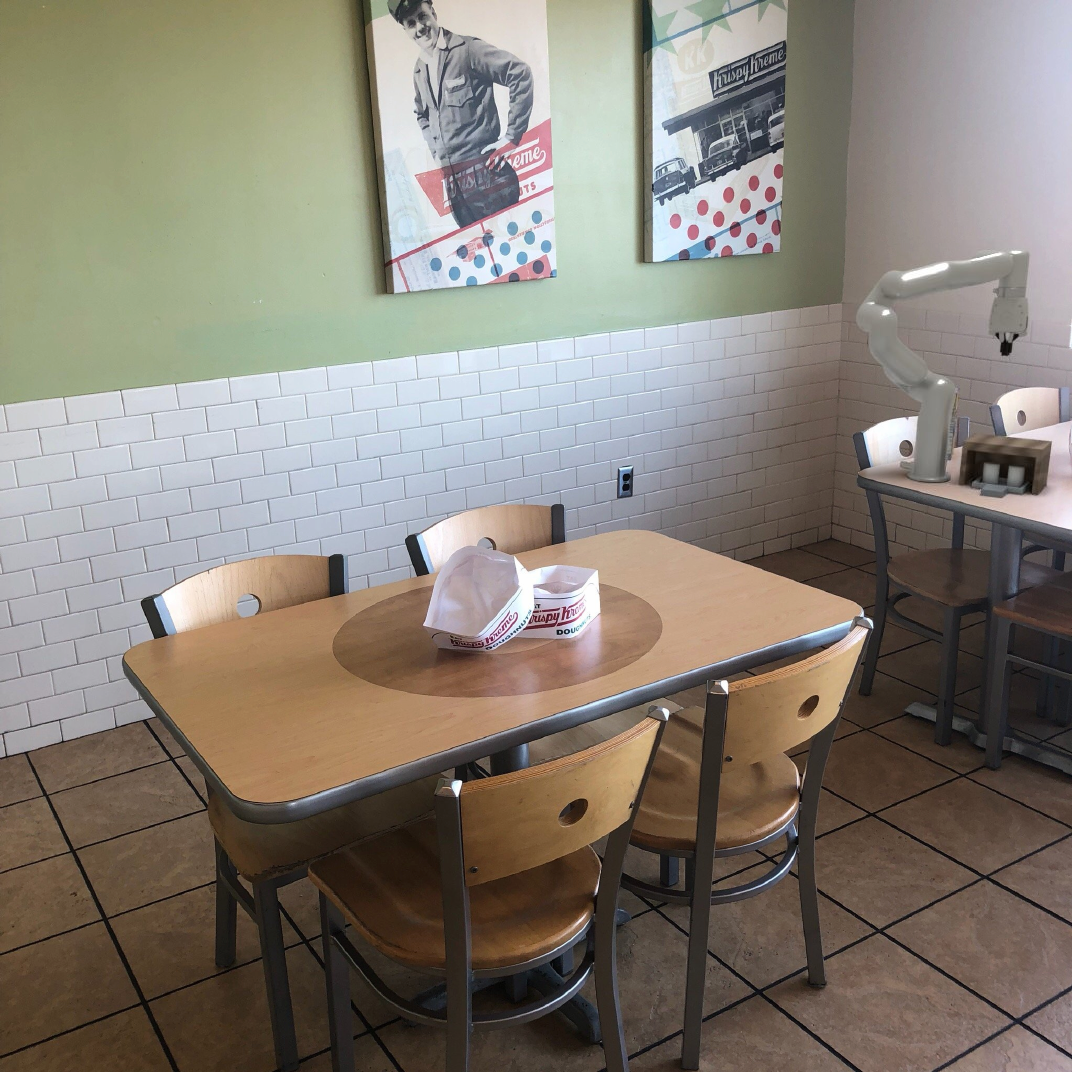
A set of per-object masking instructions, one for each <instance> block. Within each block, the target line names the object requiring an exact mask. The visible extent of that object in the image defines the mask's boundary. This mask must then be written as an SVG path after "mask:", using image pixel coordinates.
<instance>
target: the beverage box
mask: <svg viewBox="0 0 1072 1072" xmlns="http://www.w3.org/2000/svg"><path fill="white" fill-rule="evenodd" d="M955 388H956V399H955V402H954V406H953V410H952V415H951V422H950V434H949V444H948V455H947V461H952V458H953V454H954V449H955V438H956V430H957V429H956V427H957V420H958V419H957V418H958V408H959V407H958V406H959V397H960V387H955Z"/></svg>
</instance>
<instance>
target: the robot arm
mask: <svg viewBox="0 0 1072 1072" xmlns="http://www.w3.org/2000/svg"><path fill="white" fill-rule="evenodd" d="M1029 264H1030V252H1029V251H1028V250H1026V249H1017V248H1015V249H1006V250H995V249H994V250H993V249H983V250H980V251H977V252H976V253H975V254H974V255H973V256H972V258H971V259H964V260H944V261H937V262H934V263H931V264H927V265H923V266H920V267H916V268H912V269H908V270H905V271H901V270H896V269H893V270H889V271H887V272H885V274H884V275H882V277H881V278H880V279H879V280H878V281H877V282H876V284H875V285H874V287H873V289H871V291H870V293H869V294H868V295H867V296H866V298H865V299H864V301H863V302H862V303H861V305H860V306H859V308H858V310H857V312H856V316H855V320H856V324H857V326H858V327H859V329H860V330H861V331H864V332H866V333H869V334H868V347H869V352H870V354H871V355H872V357H873V358H874V359H875V360H876V361H877V362H878V363H879V364H880V365H881V366H882V368H883V372H884V374H885V376H886V377H887V379H888V380H889V381H890V382H892V383H893V384H894V385H896V387H897V388H899V389H900V390H902V391H903V392H904V393H906V395H908V396H909V397H910V398H912V399H913V400H915V401H917V402H919V403H921V406H920V409H919V412H918V416H917V420H916V432H915V433H916V434H915V443H914V457H913V460H912V461H909V462H908V461H906V460H901V461H900V463H899V467H900V468H901V469H904V470H909V471H907V478H909V479H910V480H914V481H917V482H924V483H943V482H948V481H950V480H951V479H952V476H951V474H950V473H949V472H947V464H948V460H947V455H948V444H949V434H950V422H951V415H952V410H953V406H954V402H955V399H956V388H957V387H956V386H955V384H954V383H953V381H952V380H951V379H950V378H948V377H946V376H944V375H941V374H938V373H934V372H932V371H931V370H929V368H928V366H927V363H926V362H925V360H924V359H923V358H921V357H920V356H919V355H917V354H916V353H915V352H914V351H913V350H911V349H910V348H909V347H908V346H906V345H905V344H904V343H903V342H902V341H901V340H900V338H898V332H897V331H898V330H897V329H898V324H899V323H898V322H899V321H898V320H899V319H898V316H897V315H898V314H897V313H896V312H895V310H893V307H894V305H895V303H897V302H908V301H912V300H916V299H920V298H923V297H926V296H932V295H935V294H938V293H942V292H946V291H952V290H953V291H954V290H957V289H963V288H967V287H972V286H978V285H983V284H986V283H990V282H994V281H997V280H998V286H997V287H996V288H993V290H992V293H993V294H996V297H994V298H993V302H992V305H991V309H990V315H989V320H988V321H989V322H988V335H991V336H992V337H993V336H994V337H996V338H997V339H998V340H999V343H1000V345H999V346H1000V348H999V353H1001V354H1000V356H1001V357H1003V356H1005V357H1009V356H1010V355H1011V354H1012V352H1013V345H1014V342H1015V340H1018V338H1023V337H1026V336H1028V327H1029V301H1028V300H1029V299H1028V297H1026V295H1027V293H1026V292H1027V284H1028V276H1029V275H1028V274H1029V266H1030V265H1029ZM1007 333H1009V334H1008V335H1009V336H1008V339H1007Z"/></svg>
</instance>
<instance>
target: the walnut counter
mask: <svg viewBox="0 0 1072 1072" xmlns="http://www.w3.org/2000/svg"><path fill="white" fill-rule="evenodd" d="M1052 443H1053V441H1052V440H1051V441H1050V440H1044V439H1043V440H1042V439H1033V438H1023V437H1013V436H1003V435H996V434H995V435H993V434H983V433H976V432H975V433H972V434H971V435H969V436H968V437H967V438H965V439H964V440H962V445H961V447H962V448H961V454H960V455H961V456H960V457H961V458H960V465H959V466H960V467H959V475H958V476H959V477H958V486H963V485H964V486H965V485H966V484H968V483H969V482H970V481H971V480H973V479H977V478H978V477H980V476H981V475H983V469H984V463H985V462H997V463H1000V470H999V477H1001V478H1008V470H1009V465H1022V466H1025V474H1024V480H1025V481H1031V484H1030V486H1032V490H1031V495H1032V496H1038V495H1039V494H1040V493H1041V492H1042V491H1043V490H1044V489H1045V488H1046V487H1047V483H1048V478H1049V477H1048V475H1049V468H1050V460H1051V459H1050V458H1051V451H1052ZM969 480H970V481H969ZM967 482H968V483H967ZM1044 487H1045V488H1044Z"/></svg>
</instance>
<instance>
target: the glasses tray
mask: <svg viewBox="0 0 1072 1072" xmlns="http://www.w3.org/2000/svg"><path fill="white" fill-rule="evenodd" d="M999 470H1000V463H997V462H985V463H984V469H983V475H981V476H980V477H978V478H975V480H974V481H972V483H971V489H972V488H975V489H974V490H980V489H981V490H980V492H979V493H980V494H979V496H983V495H984V496H985V497H991V498H992V497H993V498H999V499H1003V498H1004V497H1005V496H1006V495H1007V494H1010V495H1012V494H1013V495H1019V496H1022V495H1024V493H1025V492H1026V491H1028V489H1030V488H1031V485H1030V484H1031V481H1025V480H1024V474H1025V466H1022V465H1009V470H1008V478H1001V477H999Z"/></svg>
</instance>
